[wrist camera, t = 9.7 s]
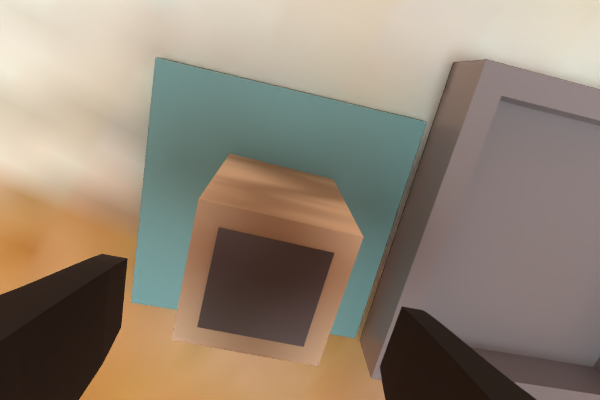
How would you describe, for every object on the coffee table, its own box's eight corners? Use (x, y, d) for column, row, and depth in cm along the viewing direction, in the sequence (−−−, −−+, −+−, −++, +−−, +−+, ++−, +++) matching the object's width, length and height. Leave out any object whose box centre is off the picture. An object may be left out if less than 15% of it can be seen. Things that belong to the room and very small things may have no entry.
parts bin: (739, 137, 16) (816, 147, 14) (594, 378, 21) (635, 417, 18) (453, 62, 15) (486, 59, 12) (359, 340, 19) (371, 378, 17)
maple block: (333, 179, 16) (364, 237, 10) (305, 269, 17) (318, 367, 11) (229, 153, 15) (197, 199, 9) (209, 249, 16) (170, 341, 11)
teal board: (422, 120, 15) (426, 122, 15) (353, 331, 19) (355, 338, 18) (159, 58, 14) (155, 57, 14) (135, 296, 17) (131, 302, 17)
